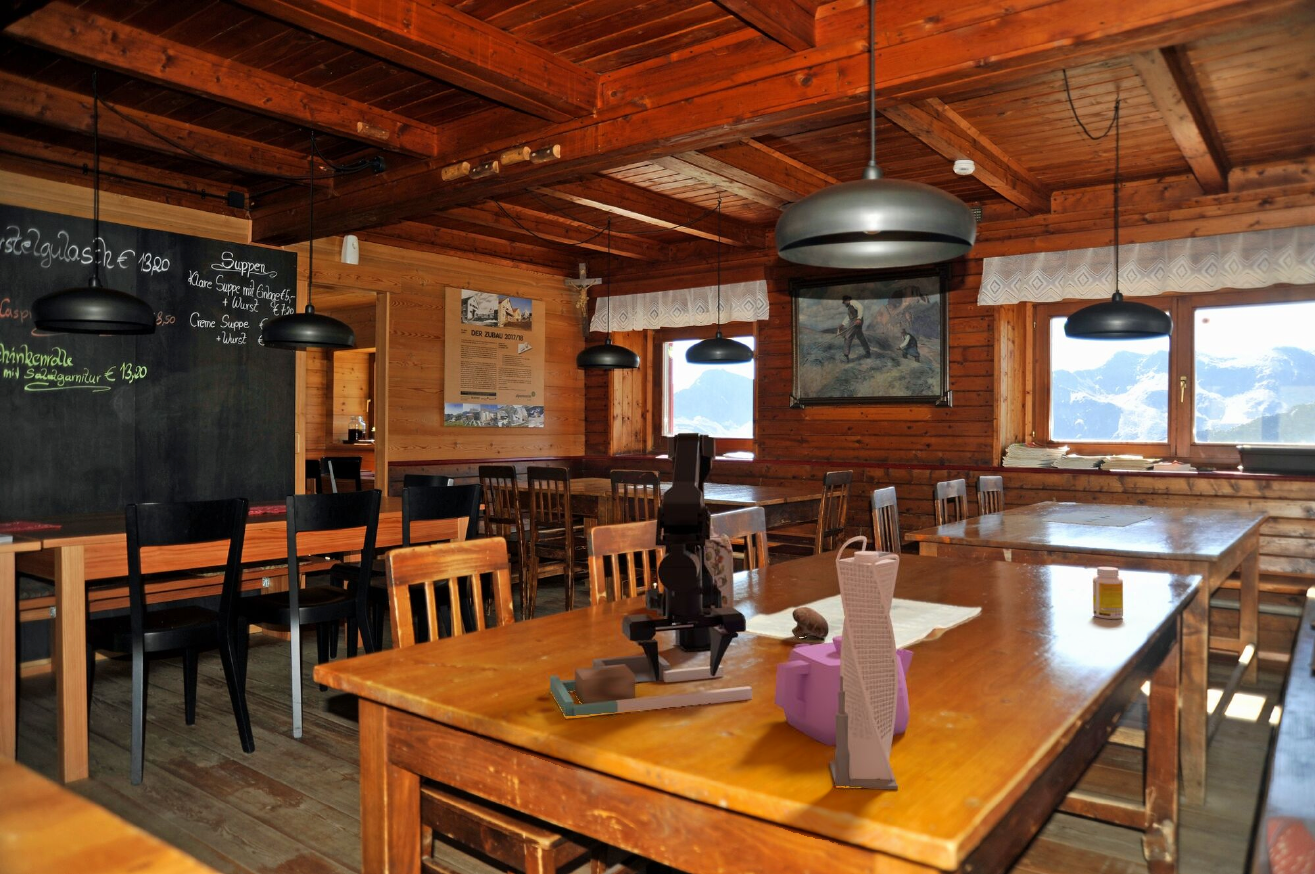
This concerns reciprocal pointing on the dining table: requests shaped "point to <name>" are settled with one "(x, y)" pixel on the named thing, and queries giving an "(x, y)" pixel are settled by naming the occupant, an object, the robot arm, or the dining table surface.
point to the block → (604, 684)
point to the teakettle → (825, 689)
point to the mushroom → (809, 623)
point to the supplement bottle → (1108, 594)
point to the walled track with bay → (644, 674)
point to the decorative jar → (721, 565)
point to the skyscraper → (866, 671)
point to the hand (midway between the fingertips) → (684, 678)
